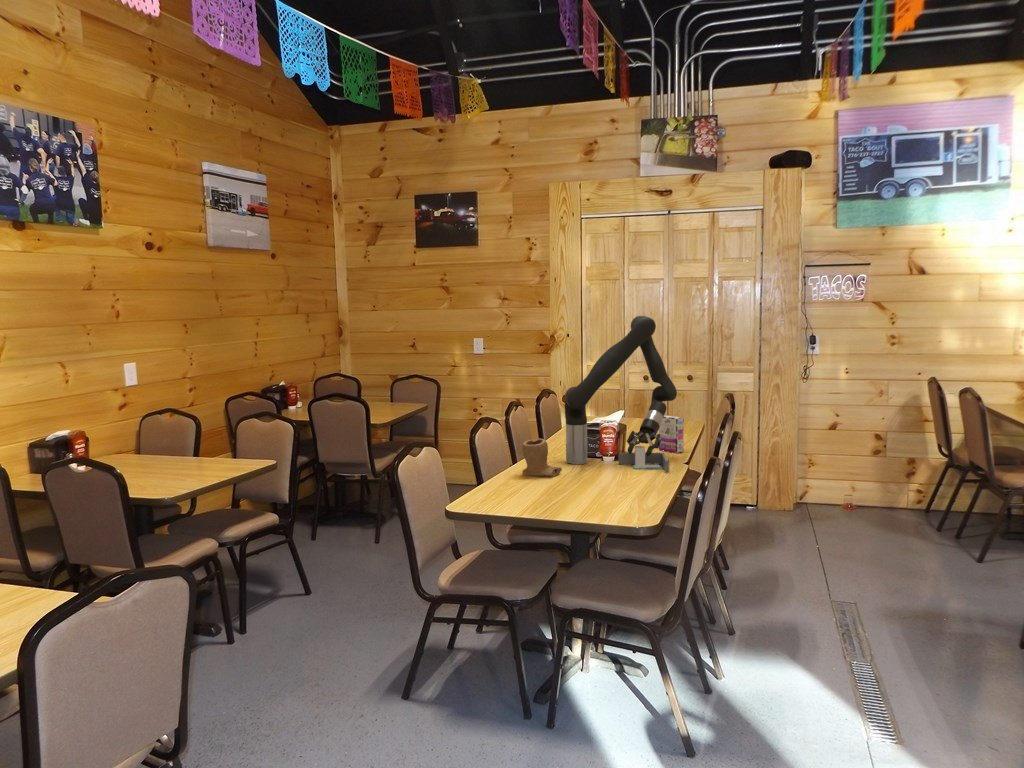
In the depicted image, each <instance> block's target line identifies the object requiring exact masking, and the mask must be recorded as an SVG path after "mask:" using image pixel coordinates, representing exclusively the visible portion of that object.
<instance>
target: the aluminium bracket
mask: <svg viewBox="0 0 1024 768" xmlns="http://www.w3.org/2000/svg"><path fill="white" fill-rule="evenodd" d="M634 453H635V468H660V465H659V463H645V453H646V447H645V445H635V446H634Z"/></svg>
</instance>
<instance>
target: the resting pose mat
mask: <svg viewBox="0 0 1024 768" xmlns="http://www.w3.org/2000/svg"><path fill="white" fill-rule="evenodd" d="M631 467H632V469H633V470H663V467H662V465H660V468H635V465H631Z"/></svg>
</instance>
